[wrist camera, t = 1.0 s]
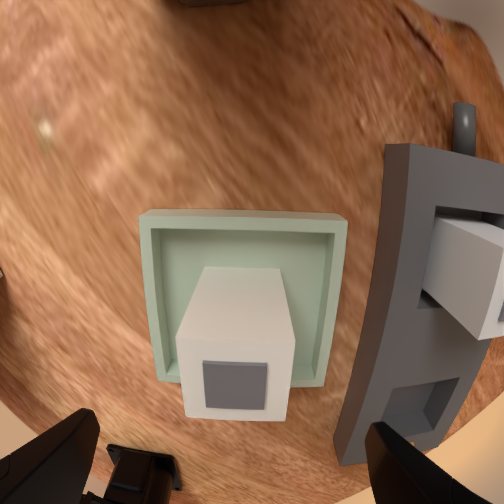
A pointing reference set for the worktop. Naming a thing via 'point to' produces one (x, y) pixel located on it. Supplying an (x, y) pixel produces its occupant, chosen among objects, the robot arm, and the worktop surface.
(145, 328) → the worktop surface
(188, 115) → the worktop surface
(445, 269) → the twin plug
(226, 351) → the iec plug
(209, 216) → the tray
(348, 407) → the strip
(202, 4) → the beer bottle
